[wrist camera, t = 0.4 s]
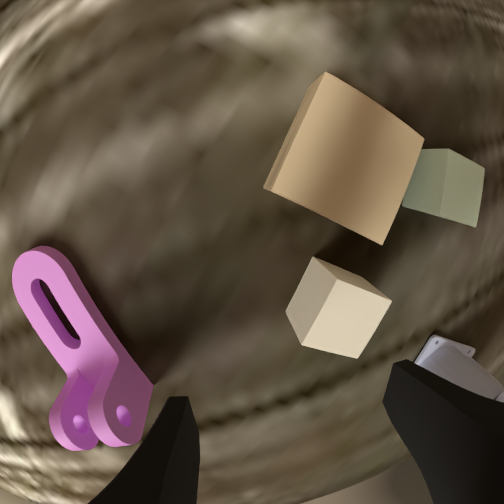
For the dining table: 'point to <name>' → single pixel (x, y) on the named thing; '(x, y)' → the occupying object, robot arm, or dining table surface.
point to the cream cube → (335, 309)
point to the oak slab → (346, 159)
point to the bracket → (82, 357)
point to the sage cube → (446, 186)
